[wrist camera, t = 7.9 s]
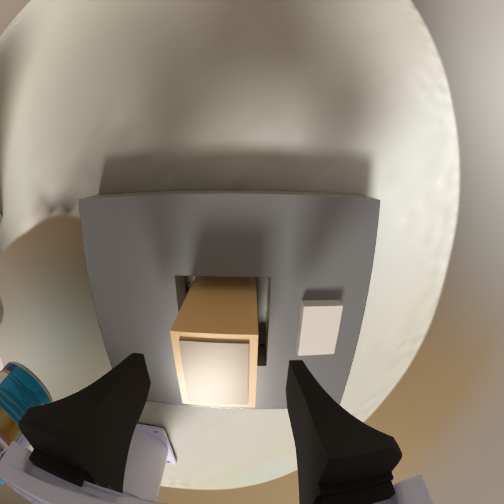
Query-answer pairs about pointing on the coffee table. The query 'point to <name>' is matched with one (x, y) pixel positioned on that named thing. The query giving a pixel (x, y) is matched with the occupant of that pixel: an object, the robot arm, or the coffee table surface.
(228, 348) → the plug
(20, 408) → the beverage bottle
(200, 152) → the coffee table surface
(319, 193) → the socket plate
